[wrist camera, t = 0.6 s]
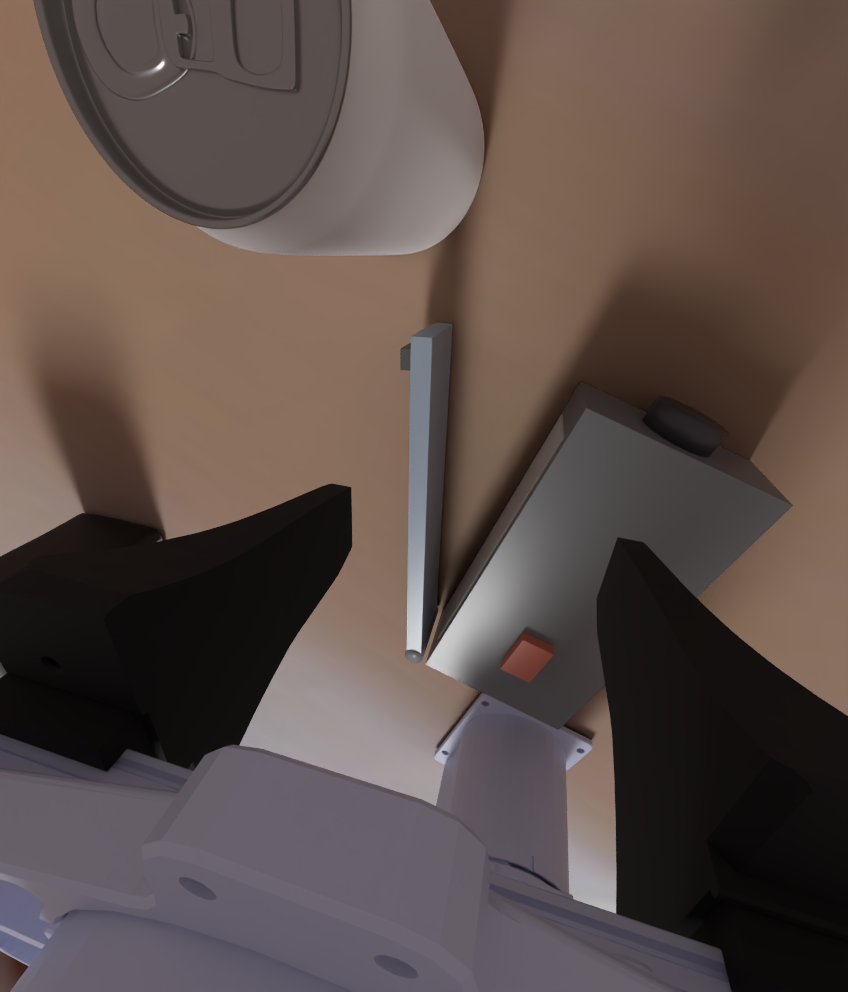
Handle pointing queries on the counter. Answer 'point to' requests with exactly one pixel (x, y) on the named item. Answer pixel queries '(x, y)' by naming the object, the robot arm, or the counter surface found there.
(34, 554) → the battery charger
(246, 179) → the can
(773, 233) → the counter surface
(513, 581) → the grey rectangular box
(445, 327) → the grey bar handle
